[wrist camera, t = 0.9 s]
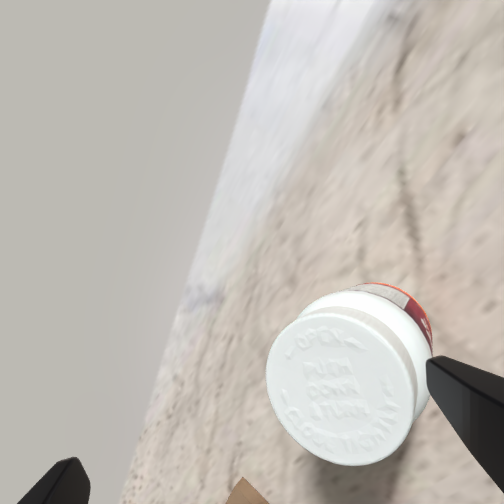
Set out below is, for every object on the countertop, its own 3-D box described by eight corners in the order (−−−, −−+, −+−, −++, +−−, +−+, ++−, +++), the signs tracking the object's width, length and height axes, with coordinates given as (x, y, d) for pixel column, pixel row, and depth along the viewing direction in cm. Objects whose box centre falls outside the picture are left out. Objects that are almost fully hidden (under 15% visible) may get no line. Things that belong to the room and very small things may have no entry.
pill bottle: (426, 389, 19) (426, 523, 9) (326, 363, 22) (246, 445, 12) (436, 288, 19) (446, 317, 9) (334, 275, 22) (260, 287, 12)
